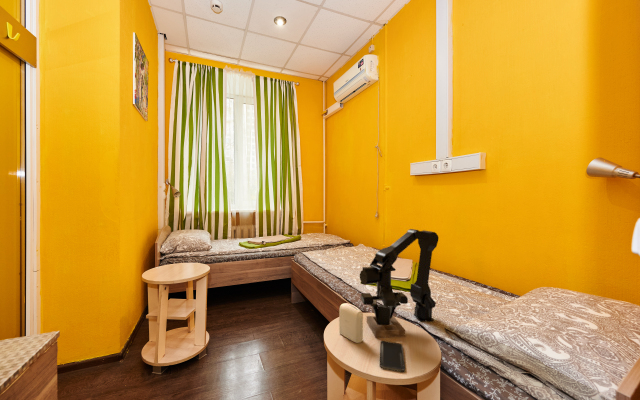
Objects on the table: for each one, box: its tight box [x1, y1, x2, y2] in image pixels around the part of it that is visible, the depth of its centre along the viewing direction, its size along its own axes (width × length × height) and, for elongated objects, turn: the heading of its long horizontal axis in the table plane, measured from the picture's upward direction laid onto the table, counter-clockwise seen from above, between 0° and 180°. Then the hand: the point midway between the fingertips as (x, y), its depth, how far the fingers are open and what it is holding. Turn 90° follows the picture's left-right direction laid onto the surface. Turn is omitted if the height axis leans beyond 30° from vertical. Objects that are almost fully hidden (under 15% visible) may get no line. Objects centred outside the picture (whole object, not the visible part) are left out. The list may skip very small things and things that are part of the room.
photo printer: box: [338, 302, 364, 344], centre depth 98 cm, size 10×4×12 cm, turn 39°
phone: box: [379, 340, 406, 373], centre depth 86 cm, size 8×1×15 cm
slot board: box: [365, 314, 406, 339], centre depth 104 cm, size 12×12×2 cm
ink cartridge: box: [377, 304, 390, 325], centre depth 106 cm, size 5×2×8 cm, turn 66°
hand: (383, 318), depth 106 cm, fingers closed on ink cartridge, 5 cm apart
